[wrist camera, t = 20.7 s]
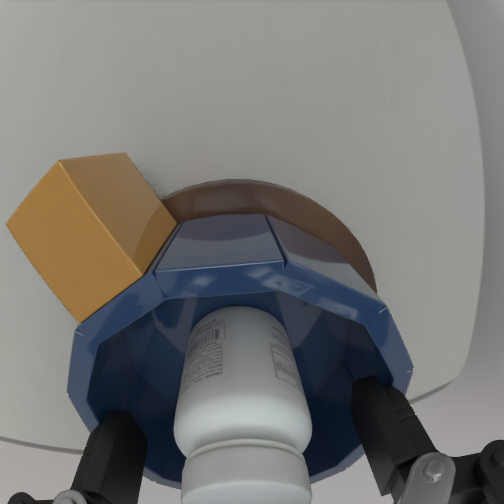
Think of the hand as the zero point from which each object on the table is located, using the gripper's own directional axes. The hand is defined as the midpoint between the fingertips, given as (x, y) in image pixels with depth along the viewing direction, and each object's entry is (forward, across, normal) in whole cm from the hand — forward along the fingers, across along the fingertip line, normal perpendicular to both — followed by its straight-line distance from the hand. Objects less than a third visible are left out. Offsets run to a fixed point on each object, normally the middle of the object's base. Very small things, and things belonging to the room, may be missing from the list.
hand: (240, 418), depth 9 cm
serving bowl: (+5, +1, -2) cm, 5 cm away
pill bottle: (+4, 0, 0) cm, 4 cm away
